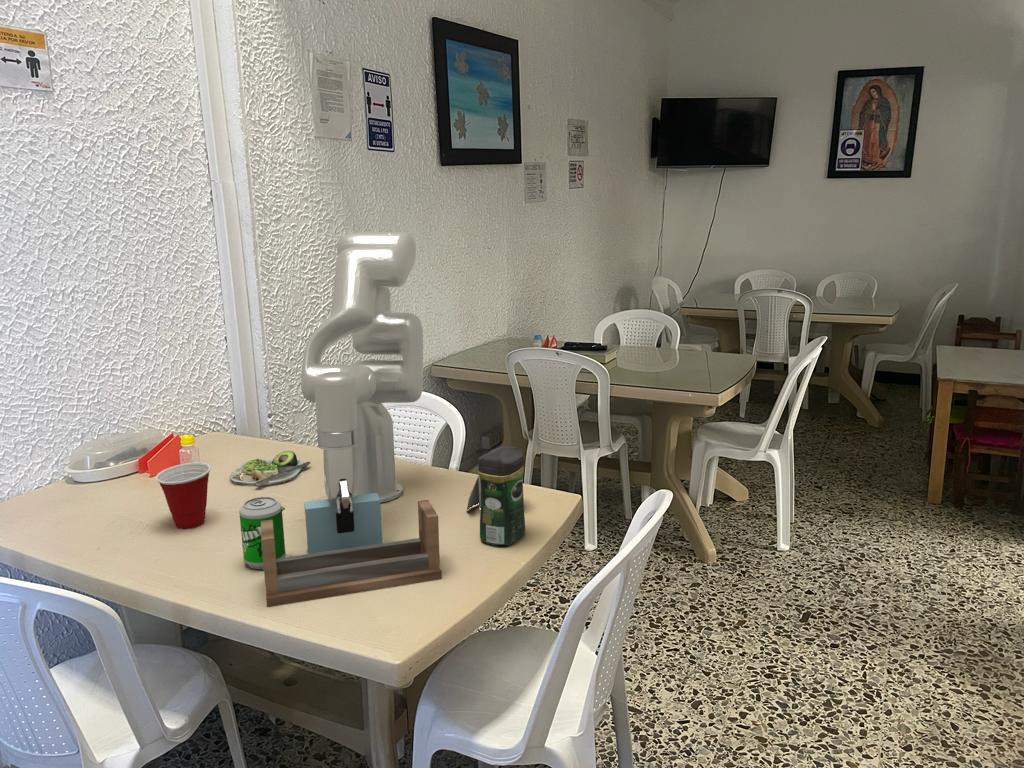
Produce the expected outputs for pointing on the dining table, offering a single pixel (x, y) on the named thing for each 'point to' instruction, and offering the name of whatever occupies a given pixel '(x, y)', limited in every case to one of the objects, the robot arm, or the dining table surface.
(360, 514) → the door panel
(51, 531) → the dining table surface
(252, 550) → the soda can
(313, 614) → the dining table surface
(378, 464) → the robot arm
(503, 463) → the coffee jar
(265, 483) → the salad plate
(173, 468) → the plastic cup
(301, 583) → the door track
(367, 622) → the dining table surface
